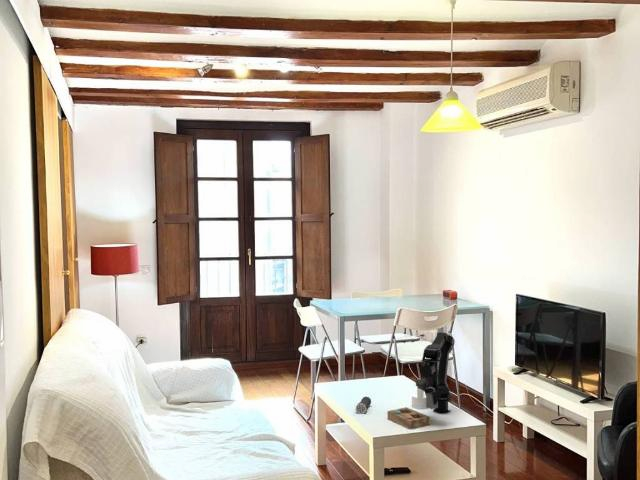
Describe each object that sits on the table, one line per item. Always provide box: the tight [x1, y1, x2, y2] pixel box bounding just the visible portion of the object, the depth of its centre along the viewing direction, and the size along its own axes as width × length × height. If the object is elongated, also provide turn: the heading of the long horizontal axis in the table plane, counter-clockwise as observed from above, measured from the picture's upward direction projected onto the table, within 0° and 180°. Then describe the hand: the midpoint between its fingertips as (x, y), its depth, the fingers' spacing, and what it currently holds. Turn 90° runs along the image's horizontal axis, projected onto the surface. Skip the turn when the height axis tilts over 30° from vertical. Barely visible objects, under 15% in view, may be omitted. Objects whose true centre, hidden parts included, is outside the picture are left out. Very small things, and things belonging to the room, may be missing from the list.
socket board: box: [387, 407, 431, 430], centre depth 320 cm, size 12×18×5 cm, turn 31°
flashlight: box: [355, 396, 372, 415], centre depth 341 cm, size 15×5×5 cm, turn 164°
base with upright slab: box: [411, 386, 428, 410], centre depth 344 cm, size 9×9×12 cm
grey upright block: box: [426, 392, 438, 410], centre depth 321 cm, size 4×4×7 cm
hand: (432, 403), depth 321 cm, fingers closed on grey upright block, 4 cm apart
